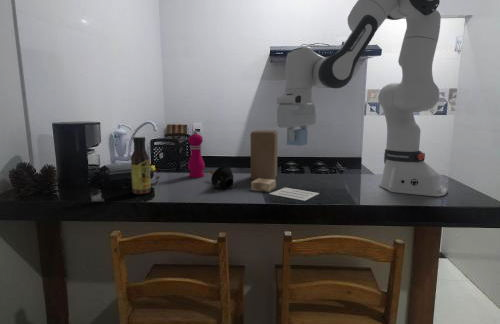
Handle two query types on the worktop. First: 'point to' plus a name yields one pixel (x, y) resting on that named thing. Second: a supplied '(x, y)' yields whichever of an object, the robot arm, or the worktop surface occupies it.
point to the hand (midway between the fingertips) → (297, 139)
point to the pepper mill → (196, 156)
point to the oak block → (263, 184)
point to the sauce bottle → (140, 167)
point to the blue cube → (298, 137)
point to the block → (264, 154)
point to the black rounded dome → (222, 177)
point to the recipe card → (294, 193)
